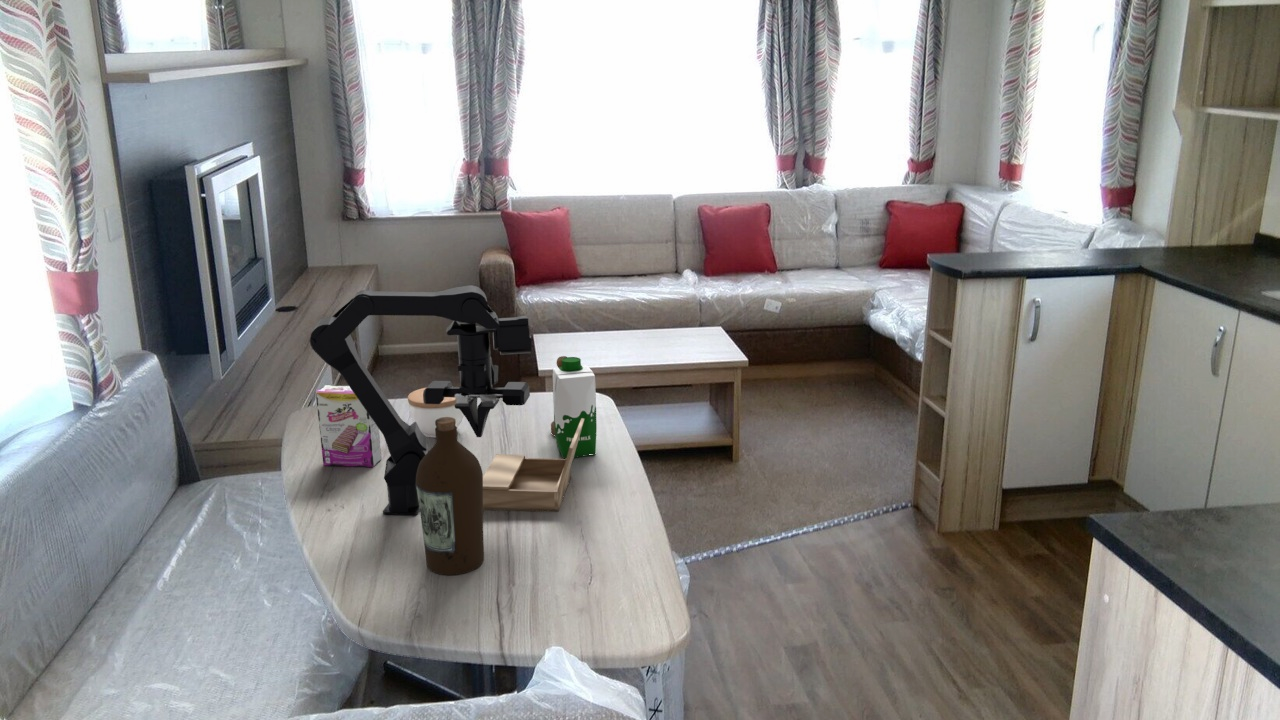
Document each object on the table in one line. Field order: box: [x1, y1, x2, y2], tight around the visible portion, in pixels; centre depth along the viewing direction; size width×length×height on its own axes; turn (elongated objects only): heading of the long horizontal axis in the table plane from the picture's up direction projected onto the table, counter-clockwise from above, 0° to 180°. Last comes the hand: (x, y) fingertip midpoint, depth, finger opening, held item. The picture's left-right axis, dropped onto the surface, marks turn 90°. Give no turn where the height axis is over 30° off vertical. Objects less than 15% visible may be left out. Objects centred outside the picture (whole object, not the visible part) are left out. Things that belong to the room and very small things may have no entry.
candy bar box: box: [315, 384, 383, 468], centre depth 197 cm, size 11×5×16 cm, turn 84°
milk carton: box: [552, 356, 597, 459], centre depth 202 cm, size 9×9×20 cm
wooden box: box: [483, 457, 572, 512], centre depth 184 cm, size 16×15×4 cm
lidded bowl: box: [407, 386, 465, 439], centre depth 215 cm, size 13×13×11 cm
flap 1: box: [483, 453, 526, 490], centre depth 183 cm, size 16×6×1 cm, turn 175°
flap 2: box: [558, 418, 584, 492], centre depth 181 cm, size 16×9×1 cm
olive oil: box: [416, 417, 485, 576], centre depth 154 cm, size 11×11×25 cm
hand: (479, 436), depth 177 cm, fingers closed
